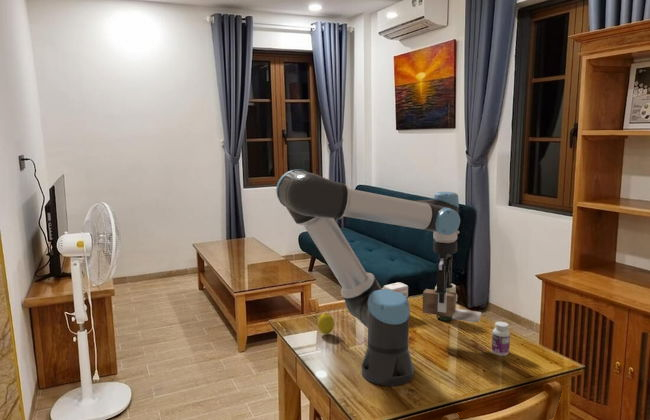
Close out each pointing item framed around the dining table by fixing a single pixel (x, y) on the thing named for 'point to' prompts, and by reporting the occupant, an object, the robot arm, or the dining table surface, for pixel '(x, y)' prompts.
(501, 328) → the pill bottle
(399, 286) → the ink box
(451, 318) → the character mug
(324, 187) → the robot arm
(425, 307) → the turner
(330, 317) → the lemon
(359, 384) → the dining table surface
